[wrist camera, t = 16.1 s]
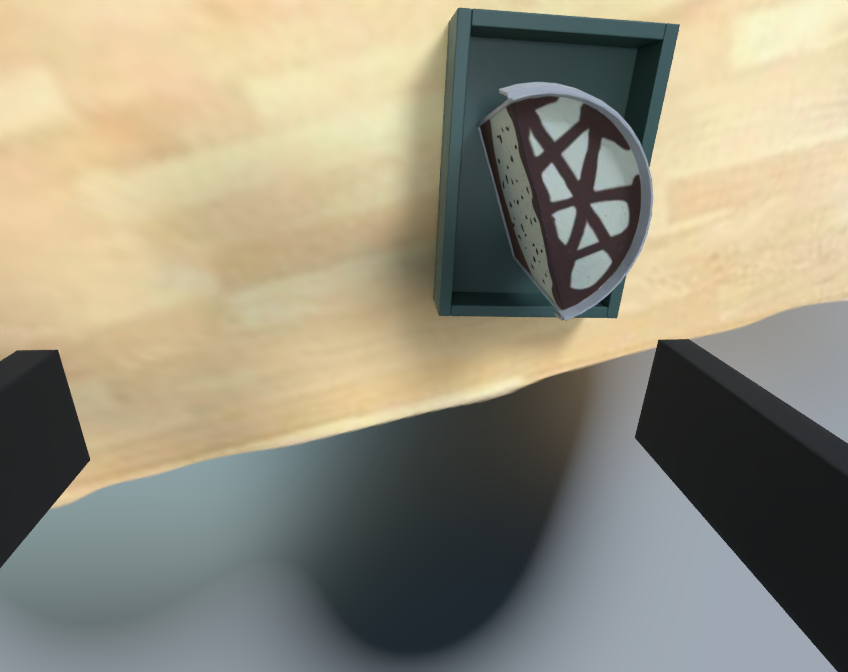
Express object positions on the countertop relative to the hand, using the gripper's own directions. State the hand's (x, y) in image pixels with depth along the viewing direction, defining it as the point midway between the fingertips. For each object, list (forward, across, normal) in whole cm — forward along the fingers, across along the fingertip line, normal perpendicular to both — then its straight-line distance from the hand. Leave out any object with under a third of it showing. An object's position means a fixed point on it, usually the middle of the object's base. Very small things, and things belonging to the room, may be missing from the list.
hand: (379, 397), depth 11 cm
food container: (+24, +11, +3) cm, 26 cm away
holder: (+24, +11, +3) cm, 27 cm away
